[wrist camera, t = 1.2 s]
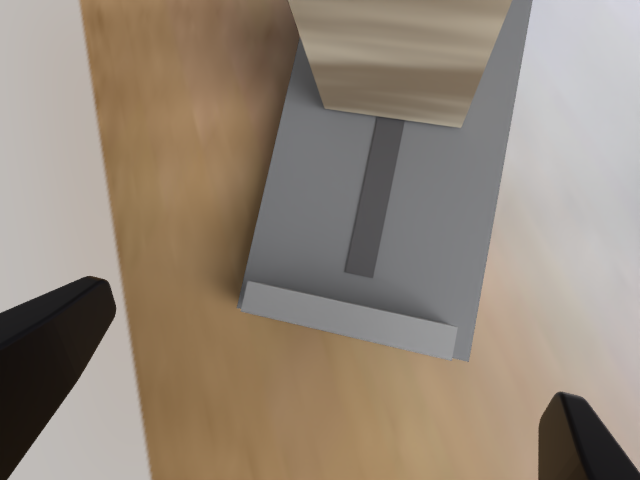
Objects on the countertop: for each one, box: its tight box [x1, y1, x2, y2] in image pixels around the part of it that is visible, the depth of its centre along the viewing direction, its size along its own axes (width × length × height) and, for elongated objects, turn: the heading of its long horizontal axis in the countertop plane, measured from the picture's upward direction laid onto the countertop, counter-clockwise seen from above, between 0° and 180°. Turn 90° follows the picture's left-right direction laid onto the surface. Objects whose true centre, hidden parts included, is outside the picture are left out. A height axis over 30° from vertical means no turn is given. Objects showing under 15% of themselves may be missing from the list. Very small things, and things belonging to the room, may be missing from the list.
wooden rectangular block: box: [288, 0, 512, 128], centre depth 15 cm, size 3×6×10 cm, turn 78°
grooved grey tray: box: [237, 0, 532, 362], centre depth 20 cm, size 22×10×4 cm, turn 168°
